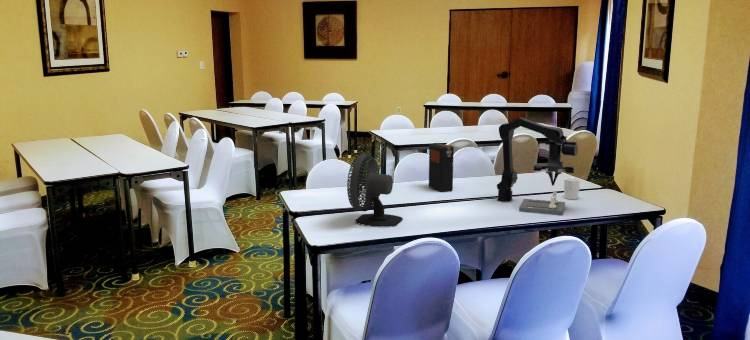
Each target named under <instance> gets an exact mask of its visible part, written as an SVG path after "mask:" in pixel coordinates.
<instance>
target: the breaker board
mask: <svg viewBox="0 0 750 340" xmlns="http://www.w3.org/2000/svg"><path fill="white" fill-rule="evenodd" d="M549 204H551V200H545V199H543V200H542V199H532V198H530V199H529V198H523V199H522V201H521V204H520V205H519V207H518V209H519V210H518V212H521V213H534V214H542V215H543V214H545V215H546V214H547V215H554V216H555V215H557V216H563V215H564V211H565V207H566V201H558V202H557V203H555V205H556V208H549Z"/></svg>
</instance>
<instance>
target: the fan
mask: <svg viewBox="0 0 750 340" xmlns="http://www.w3.org/2000/svg"><path fill="white" fill-rule="evenodd" d="M348 170H349V171H348V174H347V181H346V182H347V184H346V185H347V186H346V187H347V197H348V202H349V204H350V206H351V207H352V208H353V209H354V210H355V211H357V212H367V211H369V210H370V209H372V208H373V213H364V214H361V215H360V216H359V217H358V218H356V219H355V220H354V222H355V221H356V222H357V223H356V222H355V223H356V224H358V223H360V224H359V225H361V224H364V225H363V226H367V225H370V226H369V227H375V226H392V227H396V226H398V225H399V224H400V223H401V222H402V221H403V220H404V219H403V217H402V216H399V215H394V214H388V213H385V205H384V204H383V203H382V201H381V199H380V196H381V195H386V196H387V195H390V194H391V193H392V191H393V188H394V187H393V185H394V181H393V176H392V175H390V174H384V173H383V174H382V173H380V167H379V165H378V162H377V160H376V159H375V158H374V157H373V156H372V155H370V154H359V155H358V156H356V157H355V158H354V159H353V160H352V162H351V164H350V166H349V169H348ZM398 223H399V224H398ZM397 224H398V225H397Z"/></svg>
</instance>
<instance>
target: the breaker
mask: <svg viewBox="0 0 750 340" xmlns="http://www.w3.org/2000/svg"><path fill="white" fill-rule="evenodd" d="M550 201H551V204H549V208H556V205H555V197H553V195H552V196H551V197H550Z"/></svg>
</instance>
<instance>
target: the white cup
mask: <svg viewBox="0 0 750 340" xmlns="http://www.w3.org/2000/svg"><path fill="white" fill-rule="evenodd" d="M563 180H564V183H563V184H564V185H563V192H564V194H563V195H564V196H563V197H564V199H566V200H577V199H579V192H580V187H581V186H580V184H581V179H579V178H577V177H565V178H563Z"/></svg>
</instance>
